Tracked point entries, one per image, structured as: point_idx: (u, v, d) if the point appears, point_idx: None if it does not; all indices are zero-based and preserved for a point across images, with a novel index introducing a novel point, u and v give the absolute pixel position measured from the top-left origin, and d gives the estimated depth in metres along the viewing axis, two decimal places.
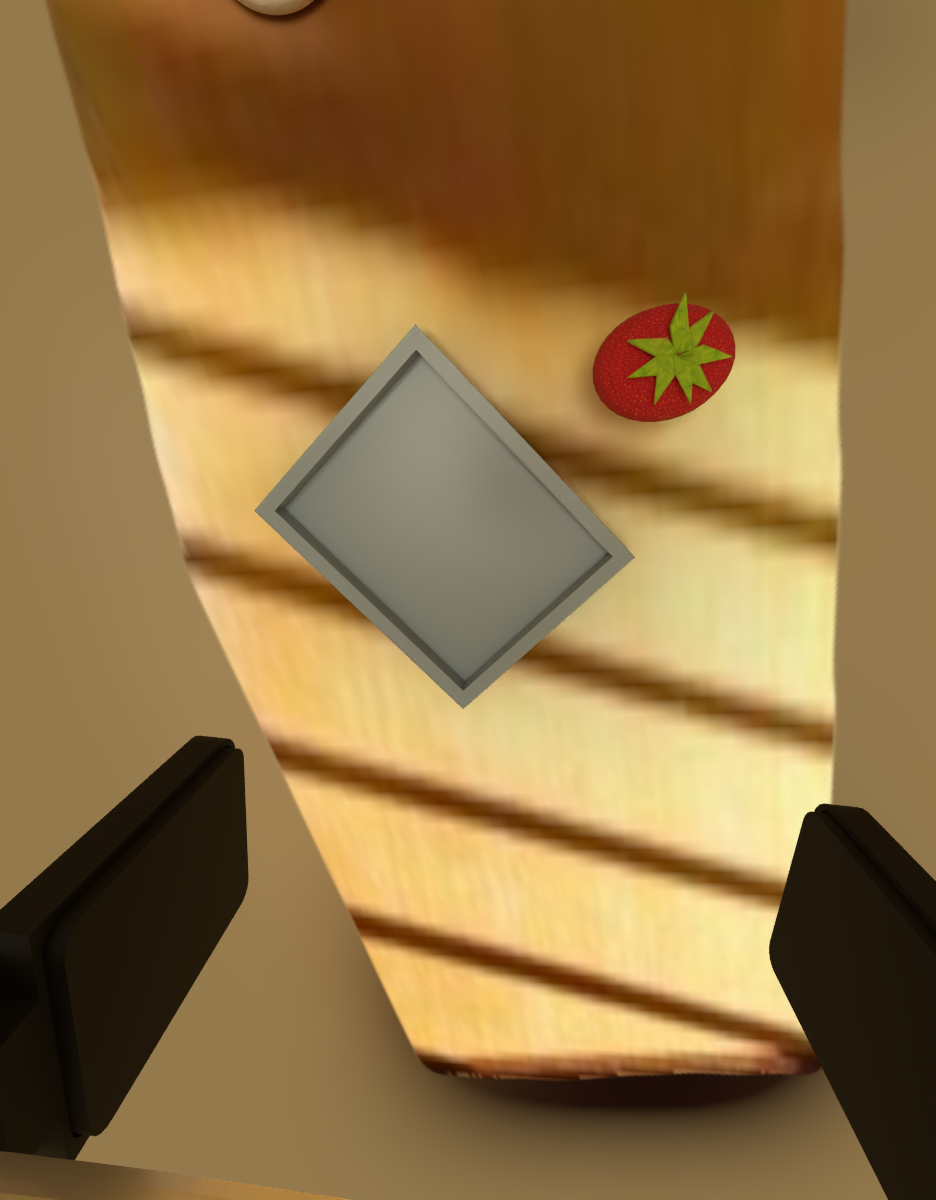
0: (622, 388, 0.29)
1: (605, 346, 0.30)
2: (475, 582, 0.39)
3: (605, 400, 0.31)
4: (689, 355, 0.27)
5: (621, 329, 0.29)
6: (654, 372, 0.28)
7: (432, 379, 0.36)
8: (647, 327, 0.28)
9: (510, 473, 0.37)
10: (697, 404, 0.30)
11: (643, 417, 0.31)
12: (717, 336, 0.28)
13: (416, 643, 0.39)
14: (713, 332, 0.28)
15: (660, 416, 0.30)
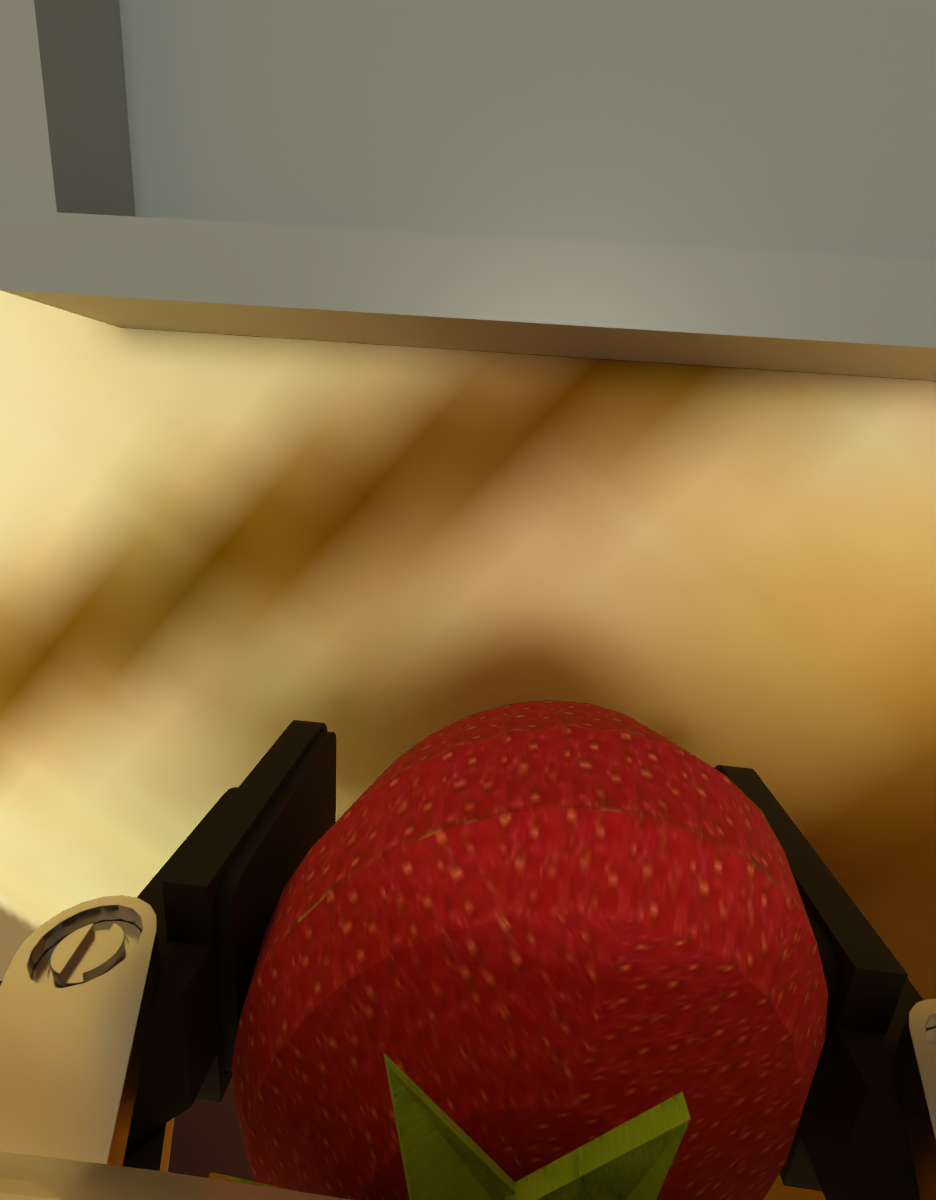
0: (620, 935, 0.04)
1: None
2: None
3: (620, 762, 0.05)
4: None
5: (811, 1080, 0.05)
6: None
7: None
8: None
9: (672, 204, 0.08)
10: (243, 1027, 0.06)
11: (397, 826, 0.06)
12: None
13: None
14: None
15: (330, 896, 0.05)
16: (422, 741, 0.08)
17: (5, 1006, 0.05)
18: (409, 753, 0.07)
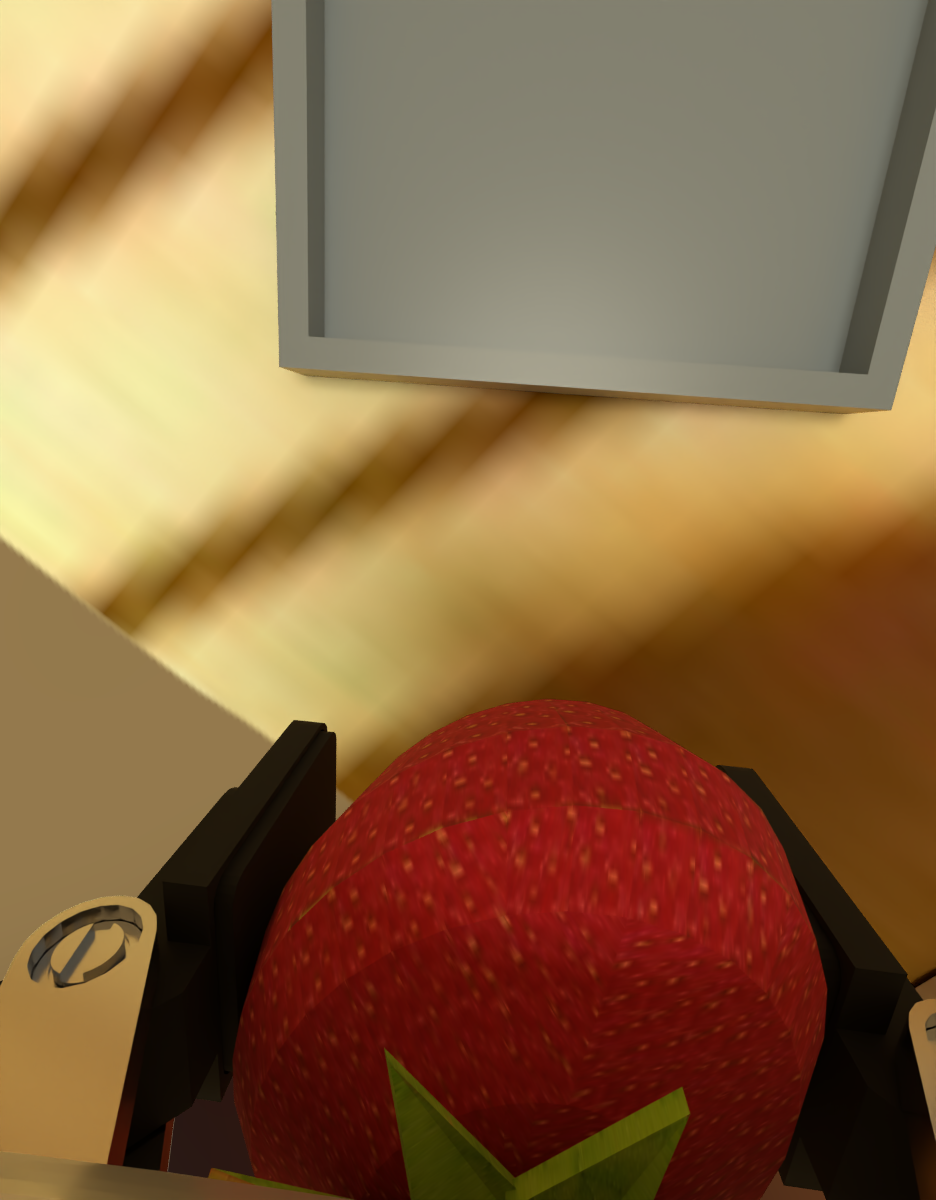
0: (621, 931, 0.04)
1: (820, 970, 0.05)
2: (475, 76, 0.17)
3: (620, 760, 0.05)
4: None
5: (811, 1075, 0.05)
6: None
7: (793, 359, 0.19)
8: None
9: (566, 327, 0.19)
10: (244, 1024, 0.06)
11: (397, 824, 0.06)
12: None
13: None
14: None
15: (331, 894, 0.05)
16: (422, 740, 0.08)
17: (5, 1006, 0.05)
18: (409, 751, 0.08)
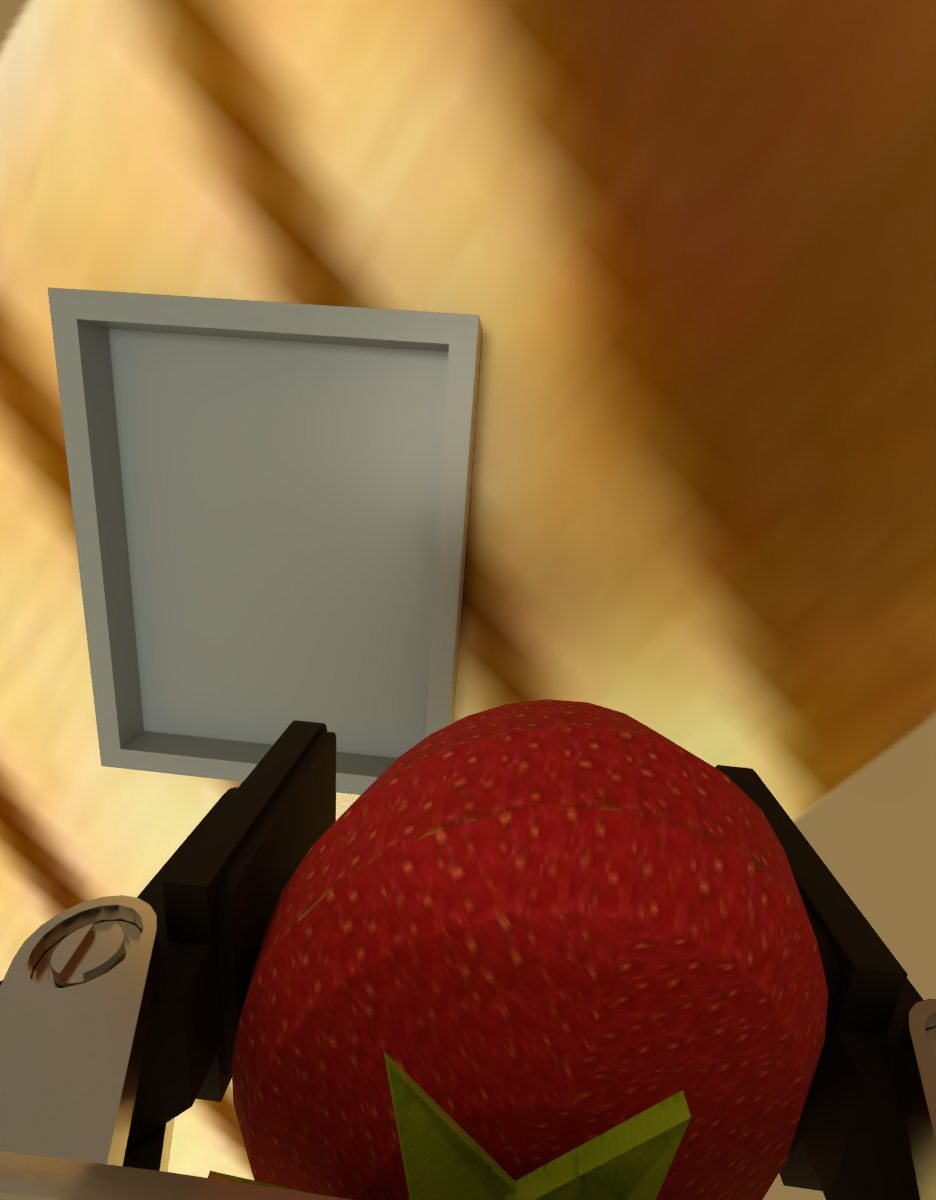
0: (621, 934, 0.04)
1: None
2: (259, 649, 0.25)
3: (620, 762, 0.05)
4: None
5: (812, 1078, 0.05)
6: None
7: (437, 395, 0.22)
8: None
9: (413, 585, 0.24)
10: (243, 1026, 0.06)
11: (397, 826, 0.06)
12: None
13: (116, 649, 0.24)
14: None
15: (330, 895, 0.05)
16: (422, 740, 0.08)
17: (5, 1006, 0.05)
18: (409, 752, 0.07)
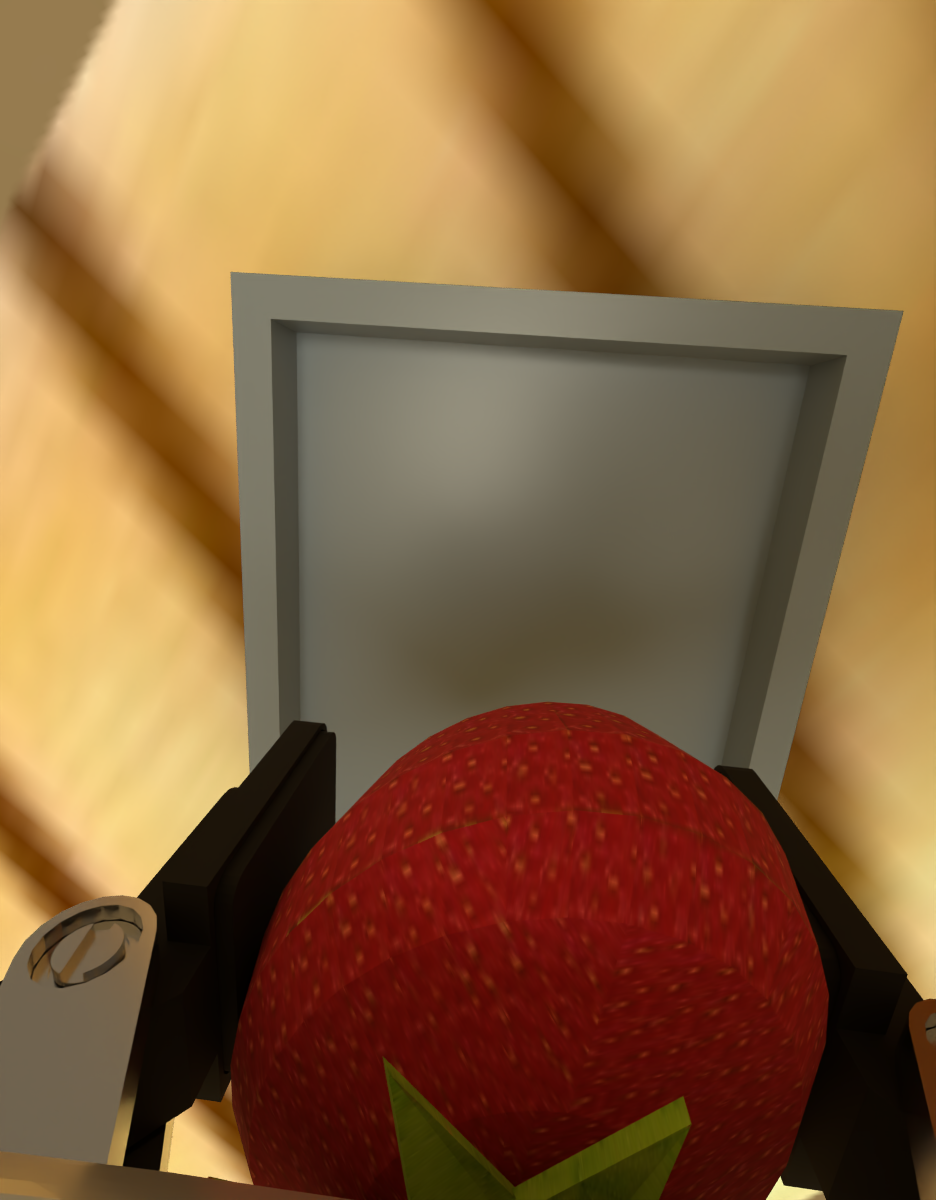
0: (621, 939, 0.04)
1: None
2: None
3: (621, 764, 0.05)
4: None
5: None
6: None
7: (775, 427, 0.15)
8: None
9: (701, 688, 0.17)
10: (242, 1029, 0.06)
11: (397, 829, 0.06)
12: None
13: None
14: None
15: (329, 899, 0.05)
16: (422, 742, 0.08)
17: (4, 1006, 0.05)
18: (409, 754, 0.07)
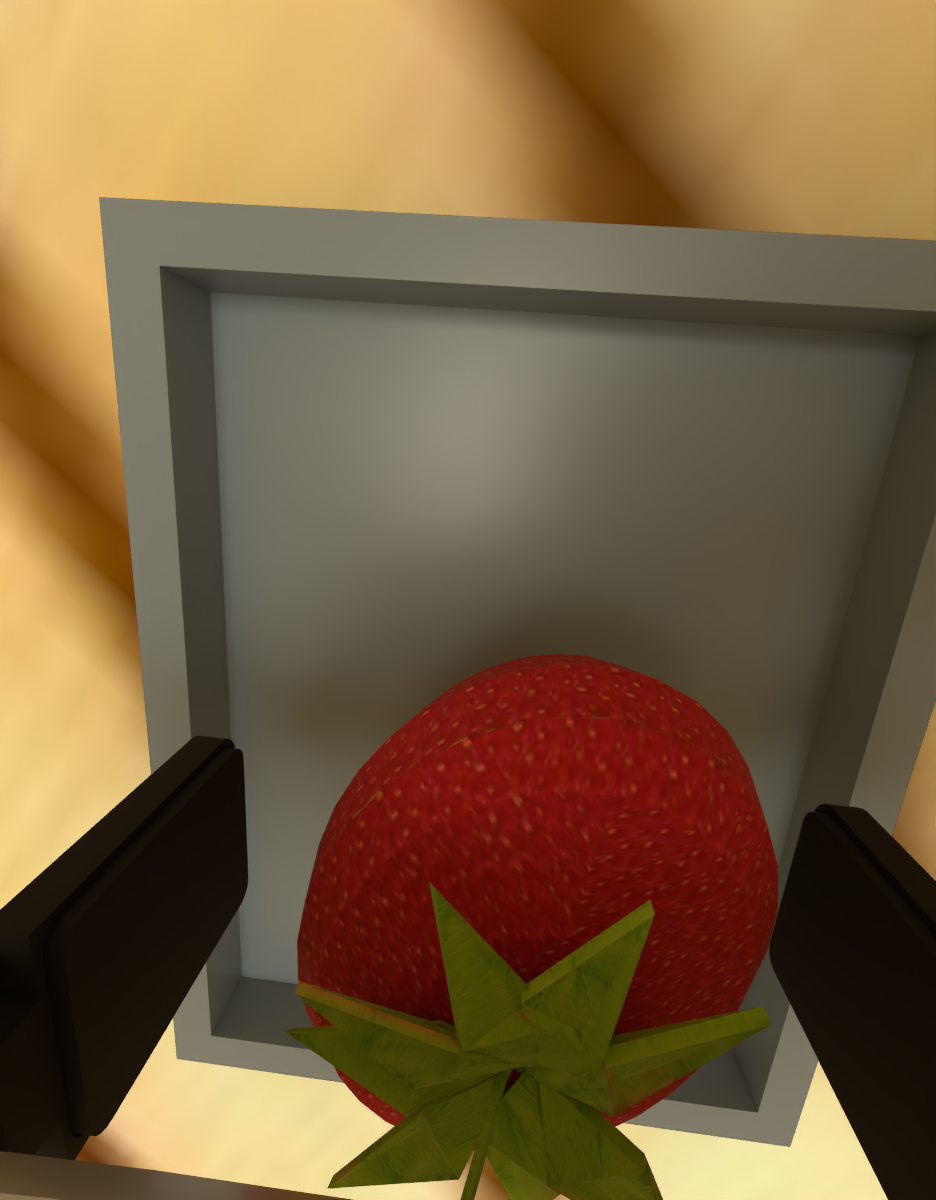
0: (607, 806, 0.06)
1: (773, 853, 0.07)
2: None
3: (610, 686, 0.07)
4: (476, 1171, 0.05)
5: (767, 941, 0.07)
6: (549, 995, 0.05)
7: (867, 422, 0.11)
8: None
9: (755, 766, 0.13)
10: (308, 908, 0.07)
11: (431, 741, 0.07)
12: None
13: None
14: None
15: (379, 795, 0.07)
16: None
17: None
18: (436, 699, 0.09)
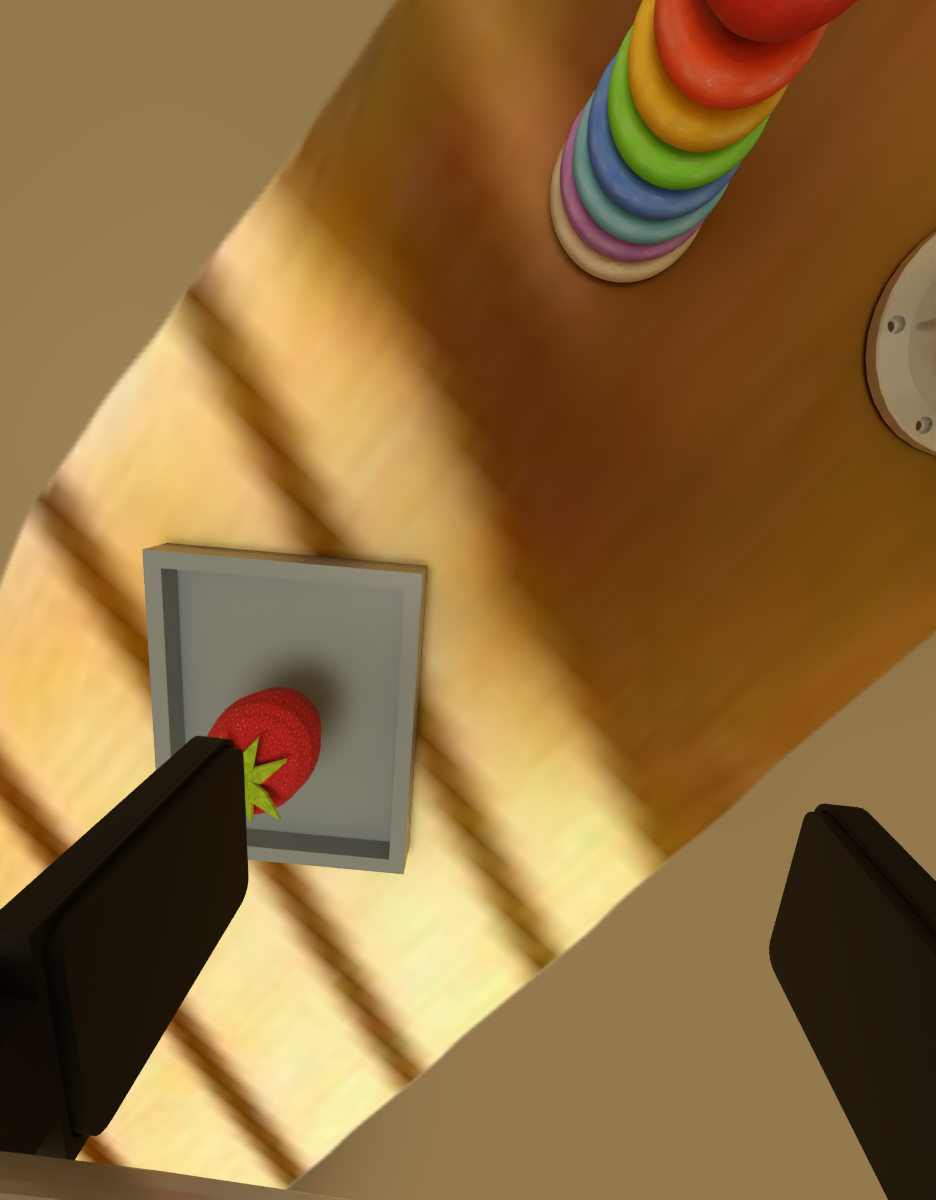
0: (261, 721, 0.28)
1: (309, 734, 0.29)
2: None
3: (273, 696, 0.29)
4: None
5: (309, 755, 0.29)
6: None
7: (397, 608, 0.34)
8: (287, 774, 0.28)
9: (382, 725, 0.35)
10: None
11: (230, 710, 0.29)
12: None
13: None
14: None
15: (217, 723, 0.29)
16: None
17: None
18: None
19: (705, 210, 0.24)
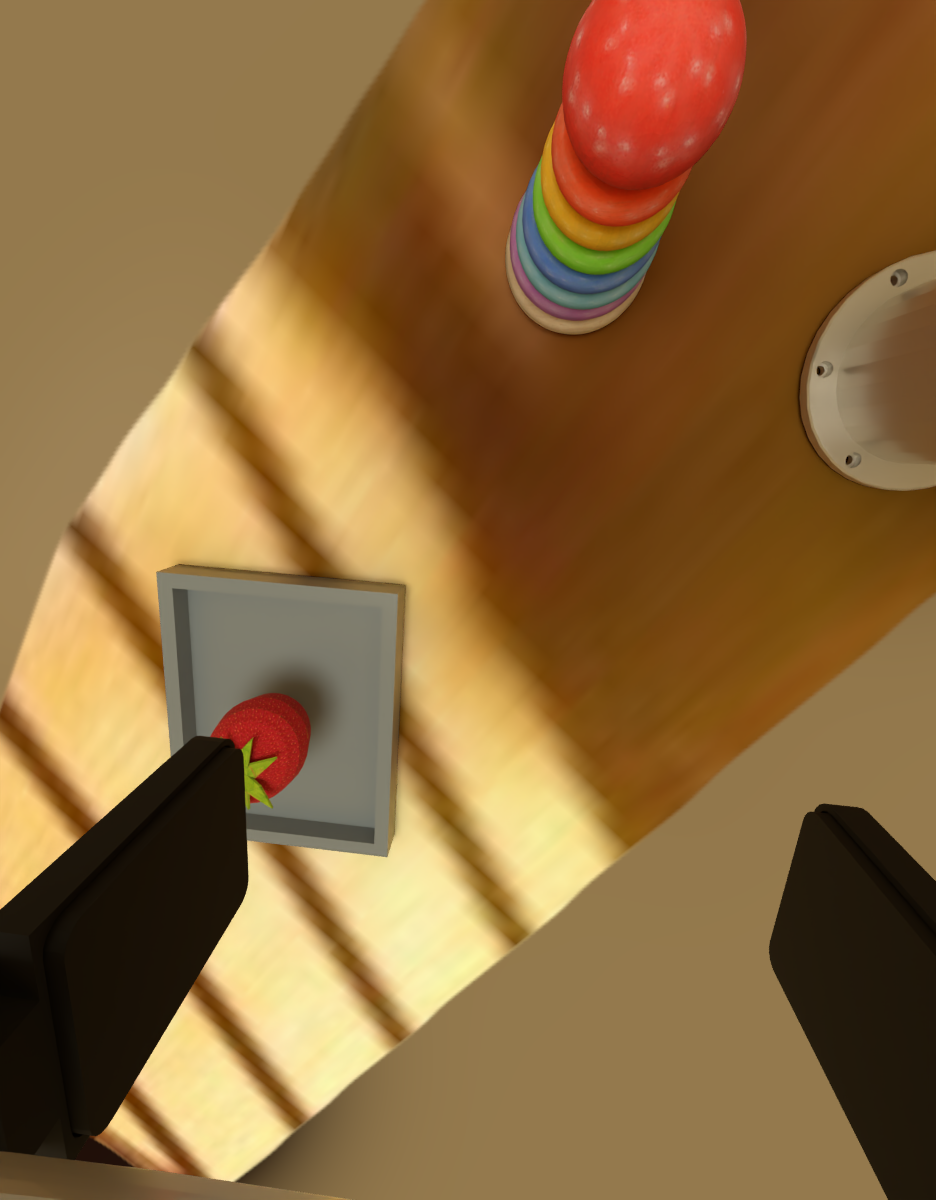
0: (255, 724, 0.32)
1: (297, 735, 0.33)
2: None
3: (266, 702, 0.33)
4: None
5: (297, 753, 0.33)
6: None
7: (378, 622, 0.38)
8: (278, 769, 0.33)
9: (368, 725, 0.40)
10: None
11: (230, 713, 0.34)
12: None
13: None
14: None
15: (219, 724, 0.33)
16: None
17: None
18: None
19: (632, 281, 0.27)
